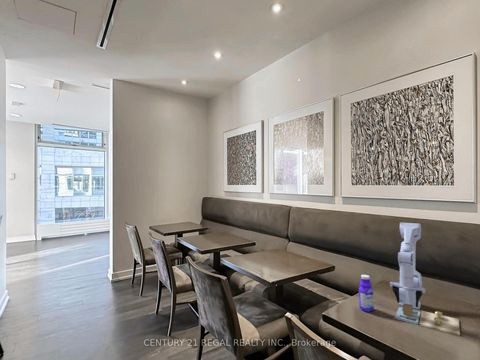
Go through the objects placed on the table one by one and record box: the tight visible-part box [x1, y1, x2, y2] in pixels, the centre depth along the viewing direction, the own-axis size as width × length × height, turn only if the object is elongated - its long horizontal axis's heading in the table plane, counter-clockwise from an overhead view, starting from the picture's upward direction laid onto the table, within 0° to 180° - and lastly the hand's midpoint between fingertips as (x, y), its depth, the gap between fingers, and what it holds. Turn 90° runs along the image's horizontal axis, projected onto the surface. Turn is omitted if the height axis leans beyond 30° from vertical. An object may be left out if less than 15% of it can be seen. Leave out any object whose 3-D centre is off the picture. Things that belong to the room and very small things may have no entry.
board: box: [418, 310, 461, 336], centre depth 123 cm, size 14×16×1 cm
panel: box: [394, 303, 421, 326], centre depth 130 cm, size 9×13×5 cm
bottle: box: [358, 274, 375, 312], centre depth 138 cm, size 7×6×17 cm
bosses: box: [434, 310, 443, 326], centre depth 124 cm, size 3×11×3 cm, turn 142°
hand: (407, 304), depth 130 cm, fingers open, 7 cm apart
